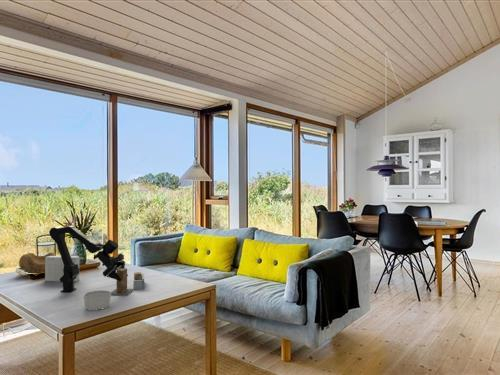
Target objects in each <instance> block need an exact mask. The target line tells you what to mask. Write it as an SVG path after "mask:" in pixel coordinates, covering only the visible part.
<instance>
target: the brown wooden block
mask: <svg viewBox="0 0 500 375" xmlns="http://www.w3.org/2000/svg"><path fill="white" fill-rule="evenodd" d="M116 273H117V274H118V276H119V277H120V278H121V281H118V280H116V289H117V293H124V292H125V291H127V289H128V276H127V274H128V268H127V267H125V268H120V269H118V270H116Z"/></svg>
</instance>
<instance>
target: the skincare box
mask: <svg viewBox="0 0 500 375" xmlns="http://www.w3.org/2000/svg"><path fill="white" fill-rule="evenodd" d="M70 256H71V255H70ZM71 259H72V262H73V263H74V264H78V268H79V269H80V256H79V255H78V256H76V255H75V256H74V255H72V256H71ZM63 268H64V264H63V261H62V258H61V255H56V256H48V257H45V273H44V281H45V282H60V278H61V277H62V276H63V275H64V273H63ZM79 280H80V273H79V274H78V275H77V277H76V279H74V283H76V282H77V281H79Z"/></svg>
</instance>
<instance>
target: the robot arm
mask: <svg viewBox="0 0 500 375" xmlns="http://www.w3.org/2000/svg"><path fill="white" fill-rule="evenodd" d="M48 233H49V236H50V239H51V240H52V241H54V242H55V244H56V246H57V249H58V252H59V256H61V258H62V261H63V264H64V268H63V273H64V275H63V276H62V277H61V278H60V281H59V282H60V283H62V290H60V291H59V292H60V293H72V292H74V291H75V290H77V288H76V287H75V282H74V279H76V277H77V275H78V274H79V275H80V271H81V270H80V267H79V268H78V264H74V263H73V262H72V259H71V254H70V251H69V248H68V245H67V241H66V234H69V235H70V236H72V237H73V238H74V239H76V240H77V241H78V242H80V243H81V244H82V245H84V247H85V249H86V250H87V251H88V252H89V253H91V254H93V260H96V259H98V260H99V261H100V262H101V263H102V266H103V267H105V269H104V270H103V272H102V275H103V277H104V278H105V277H106V278H109V279H112V280H116V281H117V280H118V281H121V278H120V277H119V276H118V274H117V270H118V269H120V268H126V267H125V266H126V261H125V255H124V253H122V252H121V253H118V254H117V256H111V255H112V254H113V253H114V252H115V251H116V250H117V249H118V248H119V244H118V243H117V242H116V241H114V240H112V239H110V238H109V239H108V240H107V242H106V243H104V244H103V243H101V242H99V241H98V240H96V239H93V238H90V237H89V236H87V235H86V234H84V233H83V232H82V231H80V230H79V229H78V228H76V227H75V226H74V225H69V226H62V225H61V226H54V227H51V228H50V229H49V231H48ZM128 276H129V275H128V273H127V277H128Z"/></svg>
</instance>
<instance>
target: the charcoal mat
mask: <svg viewBox="0 0 500 375" xmlns="http://www.w3.org/2000/svg"><path fill="white" fill-rule="evenodd" d="M133 290H134V291H135V290H136V289H134V288H127V291H125V292H124V293H117V288H115V289H113V291H110V292H111V296H123V295H127V296H129V295H130V294H131V293H132V291H133ZM134 291H133V292H134ZM129 293H130V294H129ZM128 294H129V295H128Z"/></svg>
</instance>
